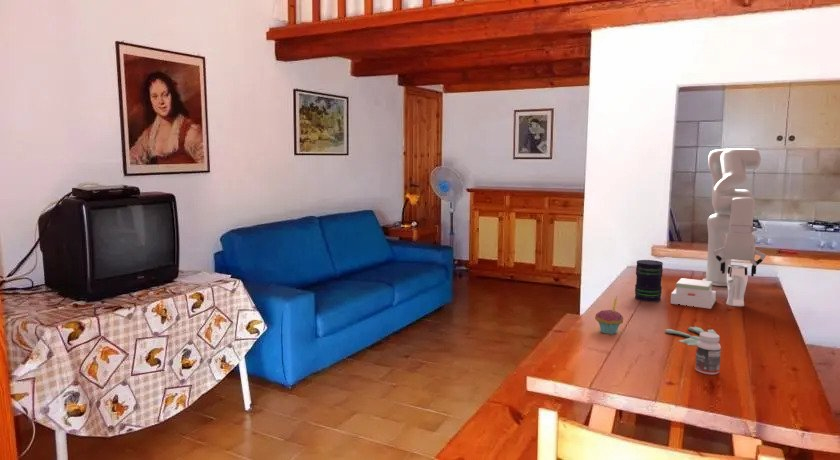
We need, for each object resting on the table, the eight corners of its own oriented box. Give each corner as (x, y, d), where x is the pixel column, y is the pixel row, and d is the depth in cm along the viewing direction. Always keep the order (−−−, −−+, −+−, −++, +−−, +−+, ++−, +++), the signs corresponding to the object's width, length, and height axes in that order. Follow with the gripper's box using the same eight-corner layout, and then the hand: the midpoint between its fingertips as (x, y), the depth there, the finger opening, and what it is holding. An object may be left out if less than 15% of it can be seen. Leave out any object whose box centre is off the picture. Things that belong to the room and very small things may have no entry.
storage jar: (634, 300, 222) (636, 263, 220) (634, 294, 231) (636, 259, 229) (661, 302, 218) (663, 265, 216) (660, 297, 227) (663, 260, 225)
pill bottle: (690, 367, 150) (692, 331, 149) (710, 366, 150) (713, 331, 149) (703, 375, 144) (705, 338, 143) (724, 374, 145) (726, 337, 144)
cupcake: (622, 329, 184) (624, 293, 182) (622, 337, 176) (624, 299, 174) (595, 326, 186) (596, 291, 185) (594, 334, 178) (595, 297, 177)
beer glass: (740, 302, 218) (743, 264, 216) (749, 307, 211) (752, 268, 209) (721, 302, 219) (724, 264, 217) (729, 306, 212) (732, 267, 210)
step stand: (676, 296, 228) (678, 276, 227) (715, 301, 221) (716, 281, 220) (670, 303, 217) (671, 283, 216) (710, 308, 209) (712, 287, 208)
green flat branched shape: (690, 350, 165) (690, 342, 165) (642, 329, 186) (642, 322, 186) (746, 344, 171) (747, 337, 170) (693, 324, 191) (694, 317, 191)
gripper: (768, 230, 210) (764, 275, 211) (716, 227, 219) (713, 270, 221) (767, 232, 203) (763, 278, 205) (713, 229, 213) (711, 273, 215)
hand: (737, 274), depth 213 cm, fingers open, 9 cm apart
